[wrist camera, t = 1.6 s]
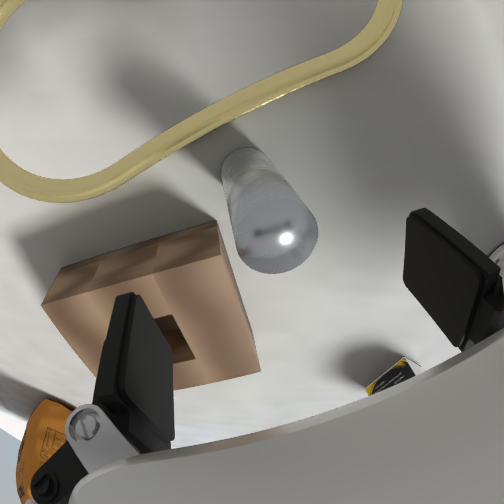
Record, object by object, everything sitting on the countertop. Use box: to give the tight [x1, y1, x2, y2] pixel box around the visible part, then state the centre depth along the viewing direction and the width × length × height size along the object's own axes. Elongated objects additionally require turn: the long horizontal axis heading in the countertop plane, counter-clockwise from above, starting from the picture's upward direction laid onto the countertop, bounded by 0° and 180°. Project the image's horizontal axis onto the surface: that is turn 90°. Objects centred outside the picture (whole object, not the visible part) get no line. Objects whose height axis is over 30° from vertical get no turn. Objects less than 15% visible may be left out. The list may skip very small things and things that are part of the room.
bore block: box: [41, 220, 261, 390], centre depth 25 cm, size 14×12×5 cm
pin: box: [221, 148, 318, 274], centre depth 18 cm, size 4×4×10 cm
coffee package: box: [16, 399, 72, 504], centre depth 26 cm, size 10×12×22 cm
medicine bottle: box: [366, 357, 425, 396], centre depth 34 cm, size 7×7×12 cm
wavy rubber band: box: [0, 0, 403, 203], centre depth 15 cm, size 19×35×2 cm, turn 116°
